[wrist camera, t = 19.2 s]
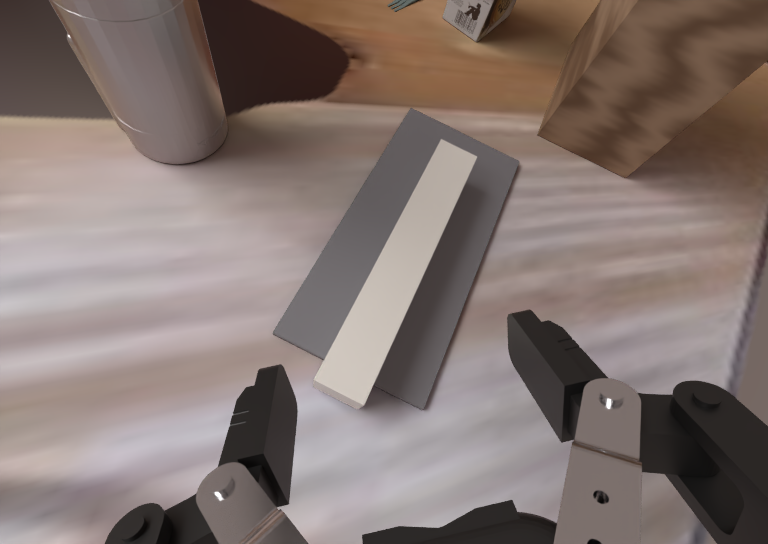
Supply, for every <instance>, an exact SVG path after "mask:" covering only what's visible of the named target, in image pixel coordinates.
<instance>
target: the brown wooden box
mask: <svg viewBox="0 0 768 544" xmlns="http://www.w3.org/2000/svg"><path fill="white" fill-rule="evenodd" d="M766 61H768V0H601V1H600V2H599V4H598V5H597V7H596V8H595V10H594V11H593V13H592V14H591V16H590V17H589V19H588V20H587V22H586V23H585V25H584V26H583V28H582V29H581V31H580V32H579V34H578V35H577V37H576V38H575V40H574V41H573V43H572V44H571V46H570V49H569V52H568V54H567V57H566V60H565V62H564V65H563V68H562V70H561V73H560V76H559V78H558V81H557V84H556V86H555V89H554V92H553V94H552V97H551V100H550V102H549V105H548V108H547V110H546V113H545V116H544V118H543V121H542V124H541V126H540V129H539V132H538V134H537V135H539V136H541V137H543V138H545V139H547V140H549V141H551V142H553V143H555V144H557V145H559V146H561V147H563V148H565V149H567V150H569V151H571V152H573V153H575V154H577V155H579V156H581V157H583V158H585V159H587V160H589V161H591V162H594V163H596V164H598V165H600V166H602V167H604V168H606V169H608V170H610V171H612V172H614V173H616V174H618V175H620V176H622V177H624V178H626V177H627V176H629V175H630V174H631V173H632V172H633V171H635V170H636V169H637V168H638V167H639V166H641V165H642V164H643V163H644V162H646V161H647V160H648V159H649V158H650V157H652V156H653V155H654V154H655V153H656V152H658V151H659V150H660V149H661V148H662V147H664V146H665V145H666V144H667V143H668V142H670V141H671V140H672V139H673V138H675V137H676V136H677V135H678V134H679V133H681V132H682V131H683V130H684V129H685V128H687V127H688V126H689V125H690V124H691V123H693V122H694V121H695V120H696V119H697V118H699V117H700V116H701V115H702V114H704V113H705V112H706V111H707V110H708V109H710V108H711V107H712V106H713V105H714V104H716V103H717V102H718V101H719V100H720V99H722V98H723V97H724V96H725V95H726V94H728V93H729V92H730V91H731V90H733V89H734V88H735V87H736V86H737V85H739V84H740V83H741V82H742V81H743V80H745V79H746V78H747V77H748V76H749V75H751V74H752V73H753V72H754V71H755V70H757V69H758V68H759V67H760V66H762V65H763V64H764V63H765V62H766Z"/></svg>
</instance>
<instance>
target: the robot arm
mask: <svg viewBox="0 0 768 544" xmlns="http://www.w3.org/2000/svg"><path fill="white" fill-rule="evenodd" d="M49 1H50V3H51V5H52V6H53V8H54V10H55V11H56V13H57V15H58V16H59V18H60V20H61V22H62V23H63V25H64V27H65V29H66V30H67V32H68V34H67V40H68V42H69V44H70V46H71V47H72V49H73V51H74V52H75V54H76V56H77V57H78V59H79V61H80V63H81V64H82V66H83V67H84V69H85V71H86V73H87V74H88V76H89V78H90V79H91V81H92V82H93V84H94V86H95V88H96V89H97V91H98V93H99V94H100V96H101V98H102V99H103V101H104V103H105V104H106V106H107V108H108V109H109V111H110V113H111V114H112V116H113V118H114V119H115V121H116V123H117V124H118V126H119V127H120V128H122V129H124V130H125V132H126V134H127V135H128V137H129V139H130V141H131V142H132V144H133V145H134V146H135V148H136V149H137V150H138V151H140V152H141V153H142V154H143V155H145V156H147V157H149V158H151V159H153V160H156V161H159V162H162V163H170V164H185V163H190V162H195V161H198V160H201V159H203V158H206V157H207V156H209V155H211V154H212V153H214V152H215V151H216V150H217V149H218V148H219V147H220V146H221V145H222V143H223V142H224V141H225V138H226V135H227V132H228V123H227V119H226V114H225V110H224V106H223V103H222V98H221V94H220V89H219V86H218V81H217V77H216V74H215V69H214V65H213V61H212V57H211V53H210V49H209V45H208V41H207V37H206V33H205V29H204V25H203V21H202V17H201V13H200V9H199V5H198V1H197V0H49ZM507 324H508V349H509V355H510V358H511V361H512V363H513V365H514V367H515V369H516V370H517V372H518V373H519V375H520V377H521V378H522V380H523V382H524V383H525V385H526V386H527V388H528V390H529V391H530V393H531V394H532V396H533V398H534V399H535V401H536V402H537V404H538V406H539V407H540V409H541V410H542V412H543V414H544V415H545V417H546V419H547V420H548V422H549V423H550V425H551V427H552V428H553V430H554V431H555V433H556V435H557V436H558V438H559V439H560V441H561V442H566V441H570V440H574V441H573V443H572V447H571V452H570V458H569V463H568V468H567V474H566V479H565V485H564V490H563V495H562V501H561V506H560V511H559V517H558V522H557V523H555V522H553V521H551V520H549V519H546V518H544V517H541V516H537V515H534V514H529V513H523V512H517V510H516V508H515V505H514V503H513V501H512V500H509V501H505V502H501V503H496V504H492V505H488V506H484V507H479V508H475V509H474V510H472V511H470V512H468V513H466V514H465V515H463V516H461V517H459V518H457V519H456V520H454V521H452V522H450V523H449V524H447V525H445V526H443V527H440V528H426V527H404V526H398V527H394V528H390V529H386V530H381V531H377V532H373V533H369V534H364V535H362V539H363V544H640V528H641V489H642V472H649V473H660V474H665V475H666V476H667V478H668V479H669V480H670V482H671V483H672V484H673V486H674V487H675V488H676V490H677V491H678V492H679V494H680V495H681V496H682V498H683V499H684V500H685V502H686V503H687V504H688V506H689V507H690V508H691V509H692V511H693V512H694V513H695V515H696V516H697V517H698V519H699V520H700V521H701V523H702V524H703V525H704V527H705V528H706V529H707V531H708V532H709V533H710V535H711V536H712V537H713V539H714V540H715V541H716V543H717V544H768V426H767V425H766V424H764V423H763V422H762V421H761V420H760V419H759V418H757V417H756V416H755V415H754V414H753V413H752V412H751V411H750V410H748V409H747V408H746V407H745V406H744V405H743V404H741V402H739V401H738V400H737V399H736V398H735V397H734V396H733V395H731V394H730V393H729V392H727V391H726V390H724V389H722V388H720V387H718V386H716V385H713V384H710V383H706V382H702V381H685V382H682V383H679V384H678V385H676V387H675V388H674V390H673V394H672V395H658V394H641V393H637V392H636V391H635V390H634V389H633V388H632V387H630V386H629V385H627V384H625V383H623V382H621V381H618V380H614V379H609V378H608V377H607V376H606V375H605V374H604V373H603V372H602V371H601V370H600V369H599V367H598V366H597V365H596V364H595V363H594V362H593V361H592V360H591V359H590V357H589V356H588V355H587V354H586V353H585V352H584V351H583V350H582V349H581V348H579V345H578V344H577V343H576V342H575V341H574V340H572V338H571V336H570V335H569V334H568V333H567V332H566V331H565V330H564V329H563V328H562V327H560V326H558V325H557V324H555V323H553V322H551V321H549V320H548V321H544V322H541V321H540V320H539V319H538V317H537V316H536V315H535V314H534V313H533V312H532V311H531V310H525V311H521V312H516V313H512V314H509V315H508V317H507ZM296 424H297V402H296V398H295V395H294V392H293V390H292V387H291V385H290V382H289V380H288V377H287V374H286V372H285V369H284V367H283V366H282V365H281V364H280V365H275V366H271V367H266V368H262V369H259V371H258V373H257V378H256V382H255V385H254V386H250V387H246V388H245V390H244V391H243V392H242V394H241V395H240V396H239V398H238V399H237V401H236V405H235V408H234V412H233V416H232V419H231V422H230V427H229V430H228V433H227V437H226V440H225V444H224V447H223V451H222V454H221V458H220V461H219V465H218V468H216V469H214V470H213V471H212V472H211V473H209V474H208V475H207V476H206V477H205V479H204V480H203V481H202V483H201V484H200V486H199V488H198V491H197V493H196V494H195V495H193V496H192V497H190V498H188V499H186V500H184V501H183V502H181V503H179V504H177V505H175V506H173V507H171V508H169V509H167V510H165V511H164V510H163V509H162V507H161V506H160V505H158V504H154V503H149V504H144V505H141V506H139V507H137V508H135V509H133V510H132V511H130V512H129V513H127V514H126V515H125V516H124V517H123V518H122V519H120V521H119V522H118V523H117V524H116V525H115V526H114V528H113V529H112V530H111V532H110V534H109V535H108V537H107V540H106V542H105V544H308V543H307V541H306V540H305V539H304V538H303V536H302V535H301V534H300V532H299V531H298V530H297V529H296V527H295V526H294V525H293V523H292V522H291V521H290V520H289V518H288V517H287V516H286V514H285V513H284V512H283V511H282V510H281V509H280V510H278V509H277V507H280V506H284V505H288V504H289V497H290V487H291V476H292V466H293V455H294V445H295V435H296Z"/></svg>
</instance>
